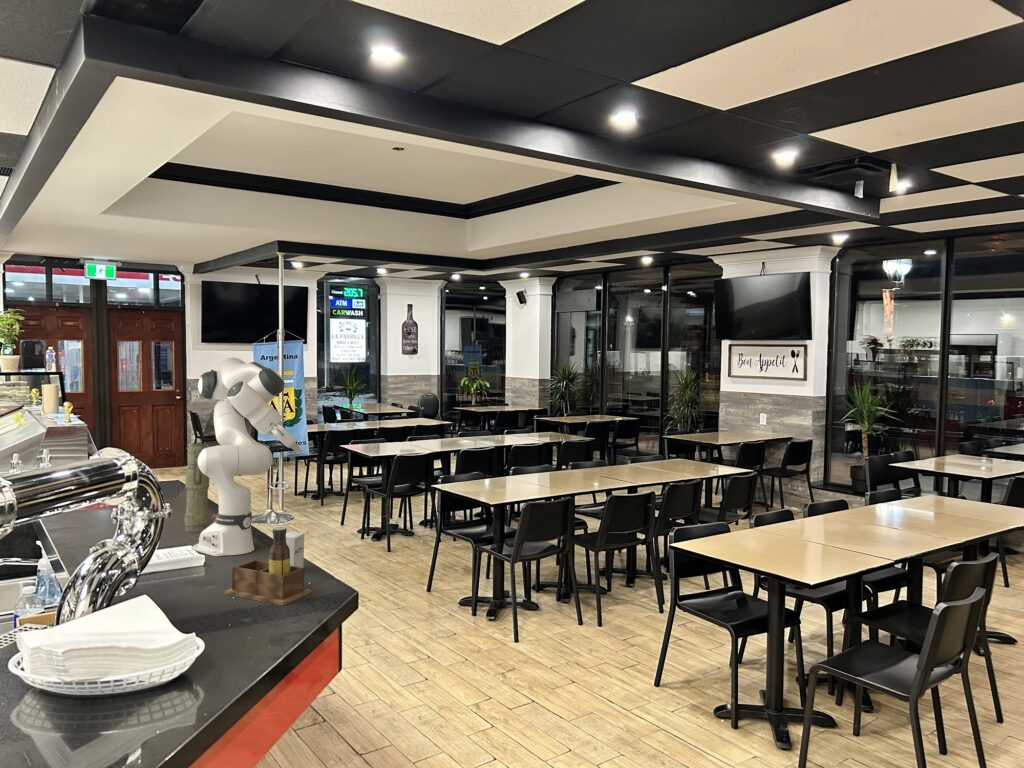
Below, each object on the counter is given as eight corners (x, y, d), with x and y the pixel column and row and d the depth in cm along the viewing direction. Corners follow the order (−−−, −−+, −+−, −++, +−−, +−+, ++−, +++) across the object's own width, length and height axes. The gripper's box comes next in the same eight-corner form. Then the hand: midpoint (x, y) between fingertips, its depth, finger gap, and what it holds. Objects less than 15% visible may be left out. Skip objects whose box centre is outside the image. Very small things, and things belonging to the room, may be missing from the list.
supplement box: (293, 575, 244) (294, 537, 244) (273, 573, 246) (274, 535, 245) (304, 569, 251) (305, 532, 251) (284, 566, 253) (285, 530, 252)
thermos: (186, 534, 289) (187, 446, 287) (183, 527, 299) (184, 442, 298) (210, 532, 293) (212, 445, 292) (206, 526, 304) (208, 442, 302)
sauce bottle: (287, 587, 228) (289, 524, 228) (292, 594, 223) (294, 529, 222) (266, 590, 225) (267, 526, 224) (270, 596, 220) (272, 531, 219)
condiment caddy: (224, 593, 224) (225, 567, 223) (254, 581, 236) (254, 557, 235) (283, 605, 216) (283, 579, 215) (310, 592, 228) (311, 567, 227)
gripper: (281, 419, 238) (310, 448, 243) (270, 411, 256) (298, 439, 261) (266, 432, 236) (296, 461, 241) (256, 424, 254) (284, 451, 259)
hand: (297, 450), depth 251 cm, fingers open, 8 cm apart
